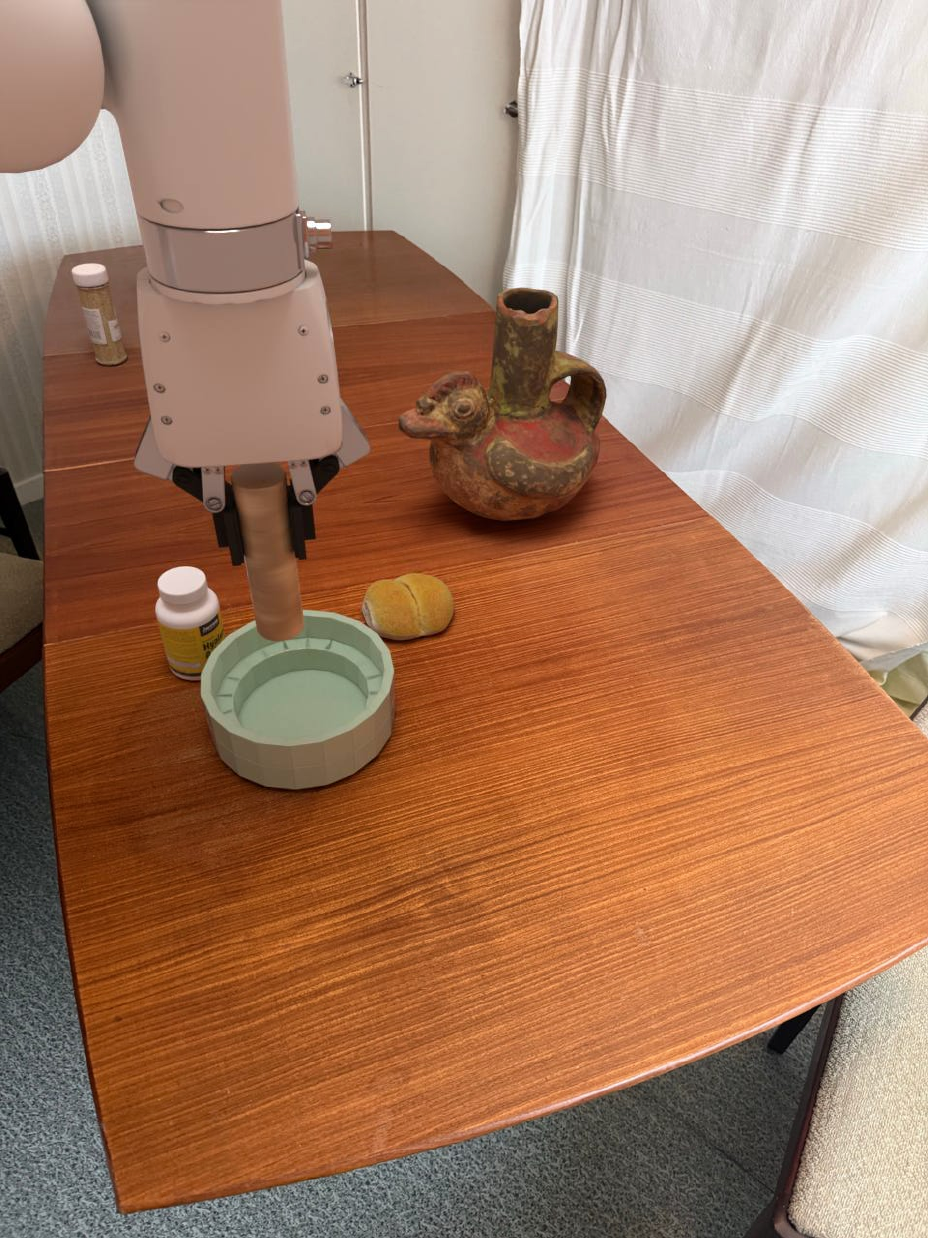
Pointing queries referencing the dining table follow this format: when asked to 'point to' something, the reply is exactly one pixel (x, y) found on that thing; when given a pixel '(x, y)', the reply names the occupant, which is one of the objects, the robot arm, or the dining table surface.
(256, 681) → the bowl
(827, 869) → the dining table surface
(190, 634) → the supplement bottle
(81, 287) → the spice jar
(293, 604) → the stirring stick
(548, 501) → the ceramic vessel
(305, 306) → the robot arm
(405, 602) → the bread roll
